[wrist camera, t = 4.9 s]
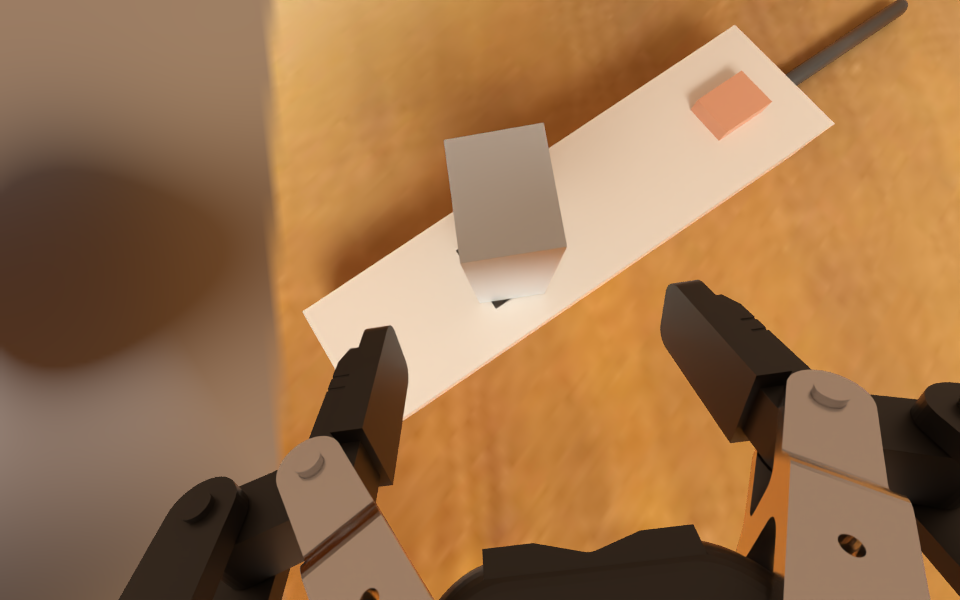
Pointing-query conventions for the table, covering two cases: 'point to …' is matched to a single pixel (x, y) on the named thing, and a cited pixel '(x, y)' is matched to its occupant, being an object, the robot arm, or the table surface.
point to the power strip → (595, 206)
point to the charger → (505, 211)
